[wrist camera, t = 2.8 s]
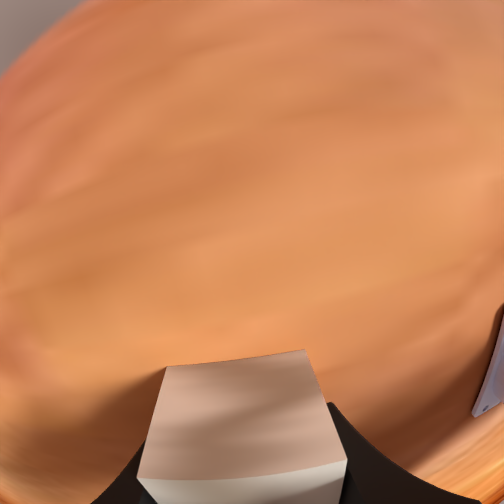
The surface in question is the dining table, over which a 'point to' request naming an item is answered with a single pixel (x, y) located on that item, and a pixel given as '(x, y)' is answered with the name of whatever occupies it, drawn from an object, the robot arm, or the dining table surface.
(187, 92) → the dining table surface
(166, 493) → the birch block
